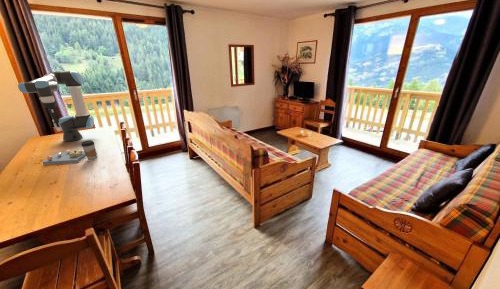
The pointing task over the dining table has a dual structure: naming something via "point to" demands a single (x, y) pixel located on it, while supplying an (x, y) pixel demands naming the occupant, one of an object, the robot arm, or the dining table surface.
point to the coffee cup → (89, 150)
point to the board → (64, 159)
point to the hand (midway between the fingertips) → (58, 129)
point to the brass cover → (75, 153)
